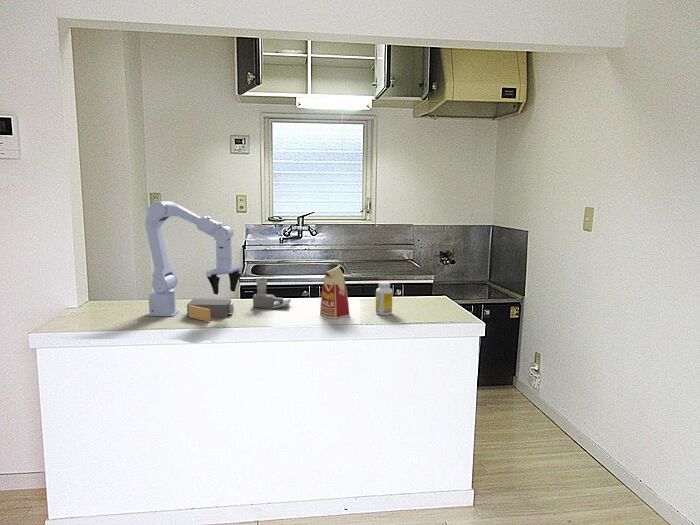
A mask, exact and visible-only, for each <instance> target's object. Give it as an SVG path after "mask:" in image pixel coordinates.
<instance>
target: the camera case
mask: <svg viewBox="0 0 700 525" xmlns="http://www.w3.org/2000/svg"><path fill="white" fill-rule="evenodd" d="M188 305H192V306H197V307H201V308H206V309H210V318H228V316H229V315H230V314H234V310H235V305H234V303H233V302H232V300H231V298H229V299H228V298H192V299H191V300H190V301H189V302H188V303H187V304H186V310H187V315H186V316H187V317H188ZM229 313H230V314H229ZM228 314H229V315H228Z"/></svg>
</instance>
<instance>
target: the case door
mask: <svg viewBox="0 0 700 525" xmlns="http://www.w3.org/2000/svg"><path fill="white" fill-rule="evenodd" d="M187 318H191V319H195V320H200V321H203V322H209V323H210V322H211V317H210V309H206V308H201V307H197V306H192V305H188V316H187Z"/></svg>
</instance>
